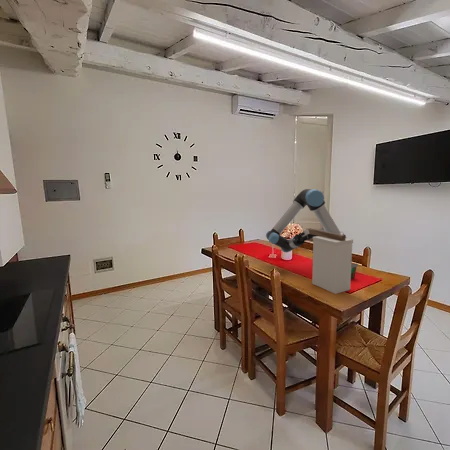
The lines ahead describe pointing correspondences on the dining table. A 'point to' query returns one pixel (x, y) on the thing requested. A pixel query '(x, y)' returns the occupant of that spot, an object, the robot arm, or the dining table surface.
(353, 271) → the food container
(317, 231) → the walnut bar
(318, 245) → the beige lidded bin
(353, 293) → the dining table surface
